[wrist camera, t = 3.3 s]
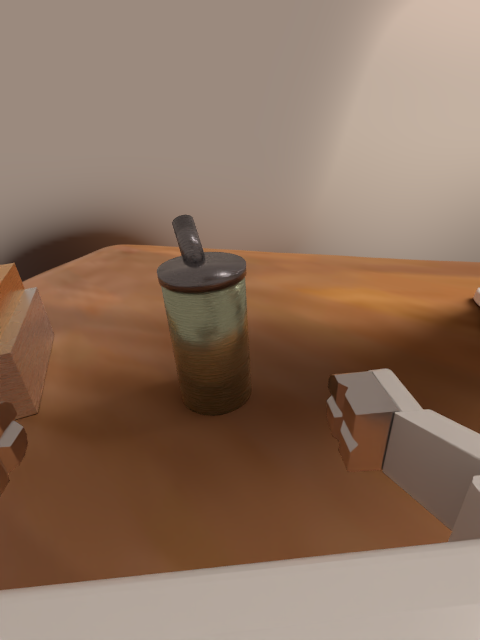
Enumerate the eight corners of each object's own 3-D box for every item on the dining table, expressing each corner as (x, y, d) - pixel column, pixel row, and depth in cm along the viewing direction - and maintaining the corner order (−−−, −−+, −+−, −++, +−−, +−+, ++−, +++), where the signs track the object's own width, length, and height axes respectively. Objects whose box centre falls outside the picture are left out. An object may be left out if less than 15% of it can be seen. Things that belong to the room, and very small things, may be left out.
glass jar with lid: (230, 351, 29) (217, 207, 23) (264, 402, 23) (258, 227, 17) (169, 367, 27) (139, 217, 22) (190, 426, 21) (157, 242, 16)
